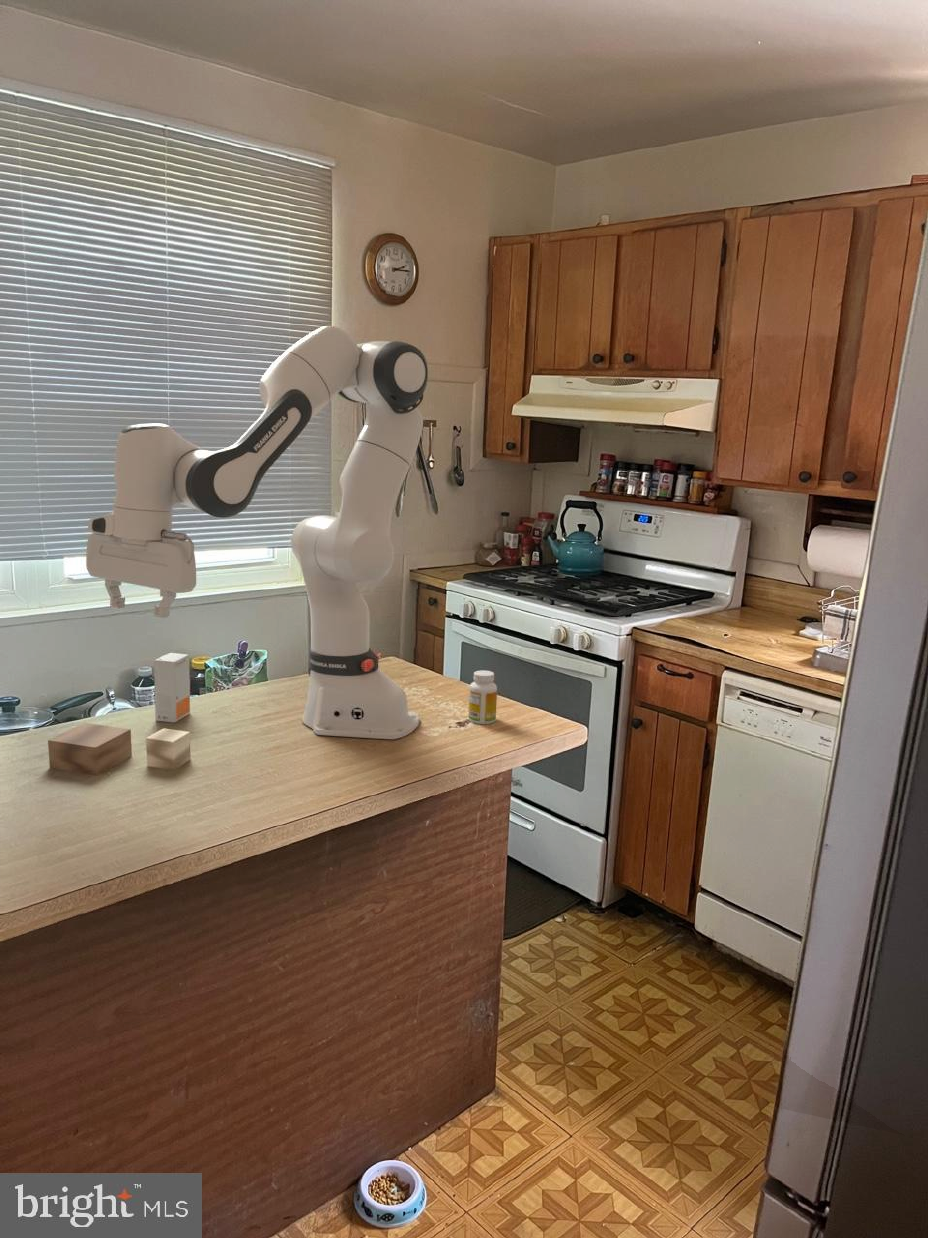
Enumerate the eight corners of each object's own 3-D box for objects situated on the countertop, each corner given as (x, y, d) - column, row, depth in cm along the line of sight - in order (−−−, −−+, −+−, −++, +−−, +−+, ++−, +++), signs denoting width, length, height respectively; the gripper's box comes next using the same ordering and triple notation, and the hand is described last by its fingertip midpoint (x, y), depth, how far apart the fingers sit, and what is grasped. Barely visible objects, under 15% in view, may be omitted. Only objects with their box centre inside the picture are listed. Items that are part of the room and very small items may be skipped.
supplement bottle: (495, 716, 179) (497, 669, 177) (495, 725, 174) (498, 677, 172) (468, 715, 179) (470, 668, 177) (468, 724, 174) (470, 676, 172)
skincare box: (175, 723, 168) (173, 662, 165) (154, 721, 169) (152, 660, 166) (191, 713, 174) (189, 654, 171) (171, 711, 175) (169, 652, 172)
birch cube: (190, 760, 151) (189, 732, 150) (173, 770, 147) (172, 742, 145) (164, 756, 152) (163, 728, 151) (147, 766, 148) (145, 738, 147)
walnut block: (131, 757, 152) (130, 729, 151) (97, 776, 143) (95, 747, 142) (86, 750, 154) (84, 722, 153) (49, 769, 146) (47, 740, 145)
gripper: (207, 534, 140) (203, 620, 143) (110, 518, 148) (108, 600, 151) (179, 535, 135) (175, 625, 137) (80, 519, 143) (78, 604, 145)
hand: (139, 612), depth 144 cm, fingers open, 8 cm apart
